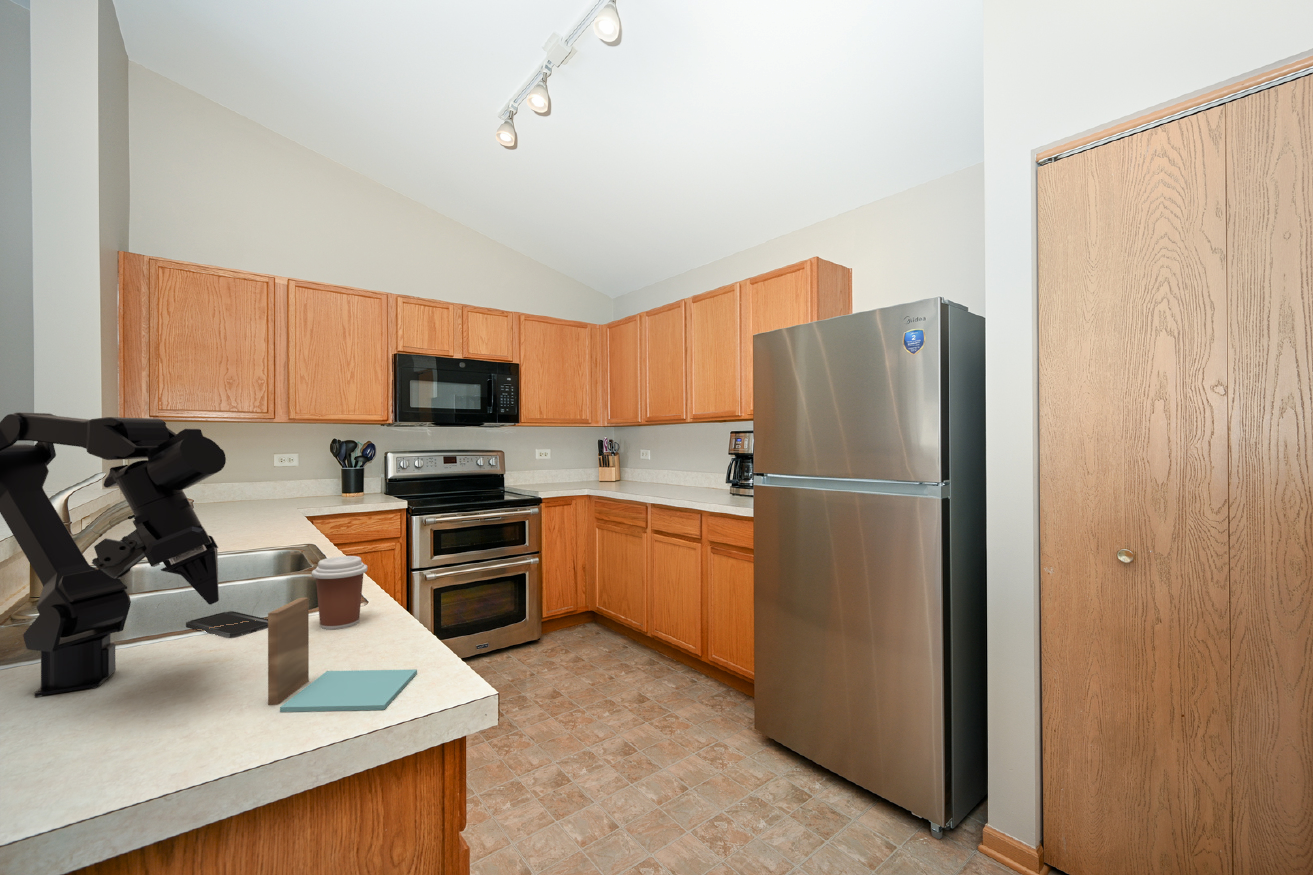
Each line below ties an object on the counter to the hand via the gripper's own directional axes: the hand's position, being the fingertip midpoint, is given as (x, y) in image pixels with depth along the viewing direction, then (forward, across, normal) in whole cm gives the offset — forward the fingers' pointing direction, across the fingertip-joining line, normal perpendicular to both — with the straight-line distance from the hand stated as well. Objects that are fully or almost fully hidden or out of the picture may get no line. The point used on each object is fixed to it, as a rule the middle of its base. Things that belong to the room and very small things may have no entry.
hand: (214, 602), depth 78 cm
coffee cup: (+14, -22, +13) cm, 29 cm away
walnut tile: (+15, +5, +3) cm, 16 cm away
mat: (+19, +10, +9) cm, 23 cm away
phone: (+6, -33, -2) cm, 33 cm away
